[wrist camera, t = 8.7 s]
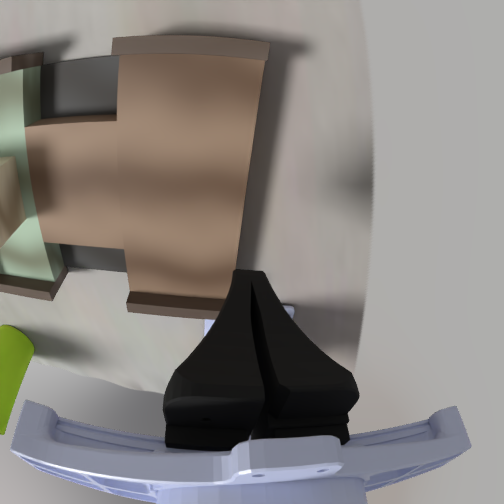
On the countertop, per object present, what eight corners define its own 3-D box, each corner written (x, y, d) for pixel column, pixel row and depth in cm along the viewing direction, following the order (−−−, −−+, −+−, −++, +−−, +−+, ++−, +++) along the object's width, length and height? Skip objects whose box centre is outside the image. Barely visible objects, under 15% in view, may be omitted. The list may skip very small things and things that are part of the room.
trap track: (230, 287, 26) (230, 327, 23) (6, 264, 24) (-15, 294, 20) (263, 45, 16) (271, 41, 12) (-28, 72, 13) (-65, 84, 9)
